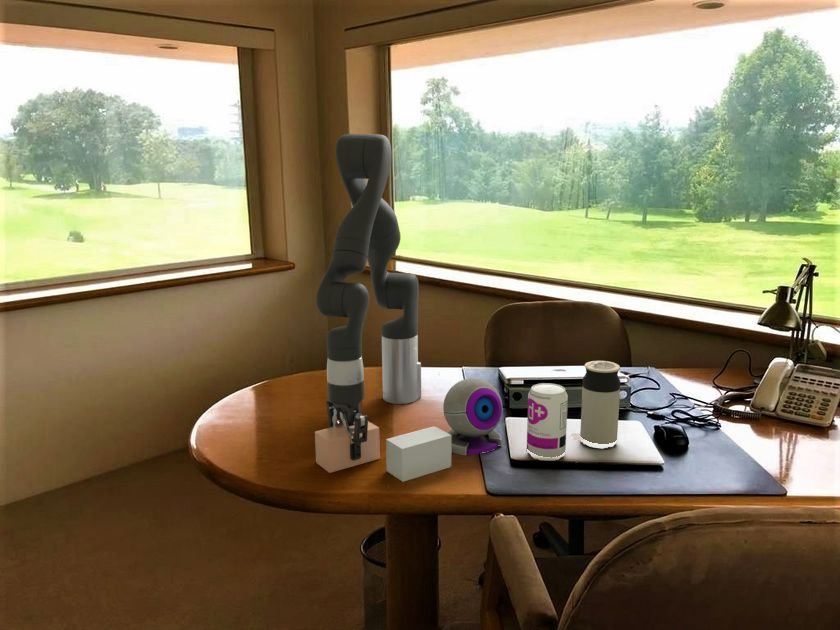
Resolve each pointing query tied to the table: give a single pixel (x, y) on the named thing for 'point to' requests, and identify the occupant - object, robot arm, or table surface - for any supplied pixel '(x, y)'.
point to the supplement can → (547, 420)
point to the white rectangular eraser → (418, 453)
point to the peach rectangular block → (344, 448)
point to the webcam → (473, 416)
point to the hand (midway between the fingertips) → (347, 453)
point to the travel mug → (600, 402)
